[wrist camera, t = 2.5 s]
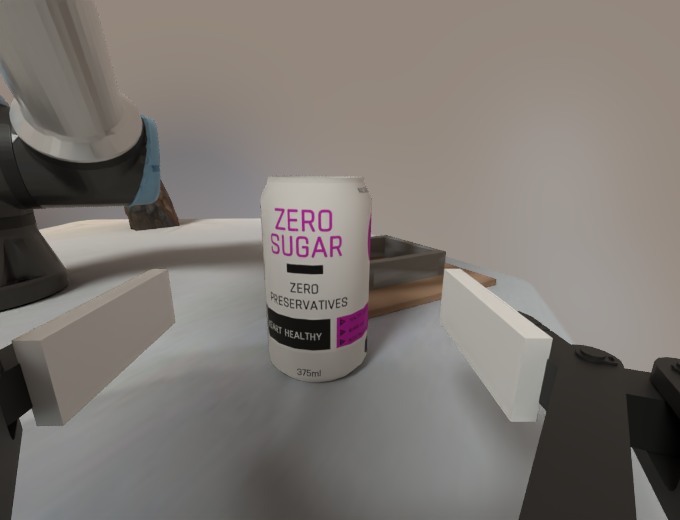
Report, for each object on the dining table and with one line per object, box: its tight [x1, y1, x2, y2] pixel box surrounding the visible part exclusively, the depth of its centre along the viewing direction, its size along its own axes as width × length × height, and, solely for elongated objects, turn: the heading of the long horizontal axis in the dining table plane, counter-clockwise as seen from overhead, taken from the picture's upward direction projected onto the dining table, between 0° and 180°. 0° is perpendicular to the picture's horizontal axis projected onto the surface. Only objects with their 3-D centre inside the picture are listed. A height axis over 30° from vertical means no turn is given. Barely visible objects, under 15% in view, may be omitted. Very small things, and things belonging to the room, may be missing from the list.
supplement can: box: [260, 176, 372, 382], centre depth 25 cm, size 8×8×15 cm
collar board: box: [368, 235, 496, 318], centre depth 49 cm, size 24×24×5 cm
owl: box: [124, 179, 180, 231], centre depth 88 cm, size 13×13×20 cm
